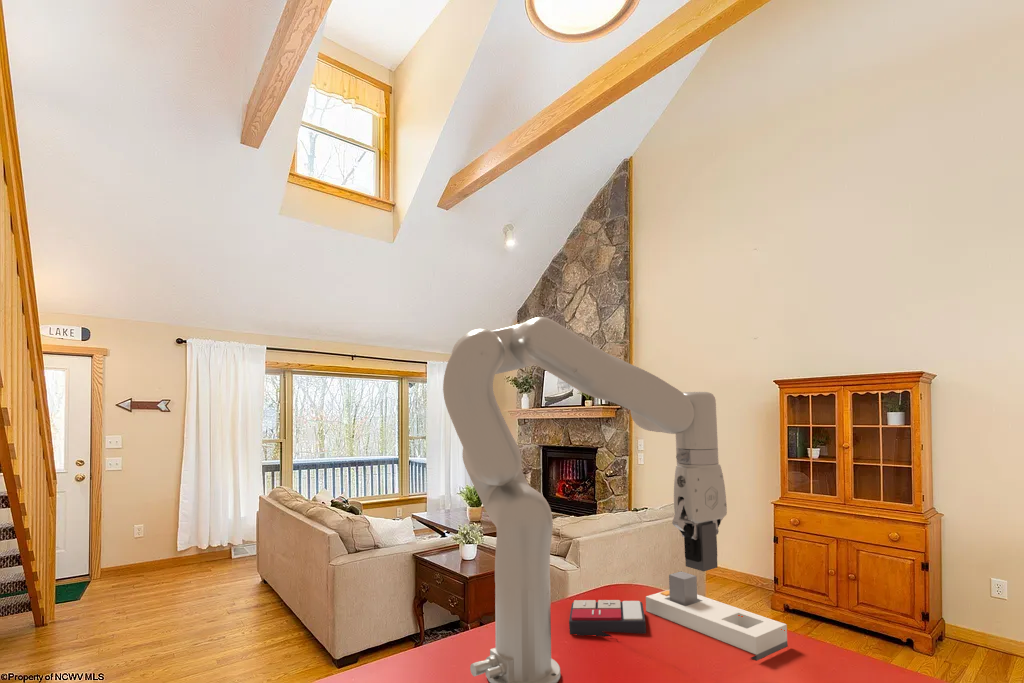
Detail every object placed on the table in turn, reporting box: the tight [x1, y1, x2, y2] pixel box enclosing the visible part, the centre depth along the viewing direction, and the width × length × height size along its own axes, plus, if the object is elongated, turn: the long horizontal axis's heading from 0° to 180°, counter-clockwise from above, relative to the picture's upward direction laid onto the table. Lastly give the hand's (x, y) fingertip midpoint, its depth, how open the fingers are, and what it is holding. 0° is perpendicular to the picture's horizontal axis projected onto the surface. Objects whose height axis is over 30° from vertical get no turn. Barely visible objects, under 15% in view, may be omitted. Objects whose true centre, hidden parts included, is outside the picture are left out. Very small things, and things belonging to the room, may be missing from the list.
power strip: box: [645, 589, 788, 661], centre depth 118 cm, size 10×26×4 cm, turn 35°
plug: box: [684, 522, 718, 572], centre depth 109 cm, size 4×4×8 cm
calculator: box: [568, 599, 647, 637], centre depth 121 cm, size 11×4×15 cm
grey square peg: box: [668, 571, 698, 606], centre depth 124 cm, size 4×4×8 cm
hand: (701, 556), depth 108 cm, fingers closed on plug, 4 cm apart
